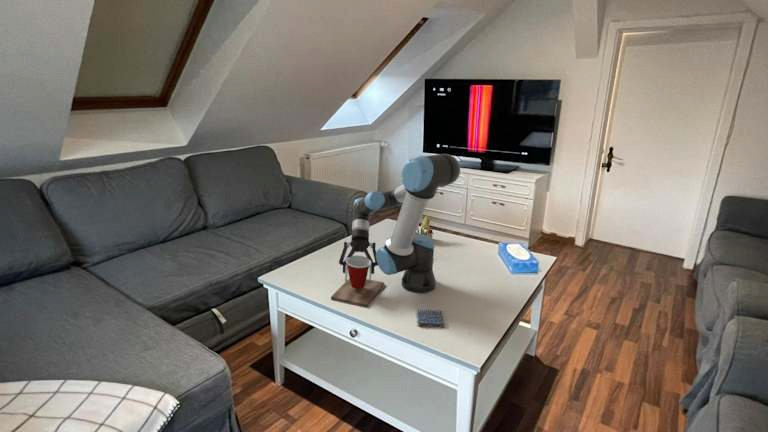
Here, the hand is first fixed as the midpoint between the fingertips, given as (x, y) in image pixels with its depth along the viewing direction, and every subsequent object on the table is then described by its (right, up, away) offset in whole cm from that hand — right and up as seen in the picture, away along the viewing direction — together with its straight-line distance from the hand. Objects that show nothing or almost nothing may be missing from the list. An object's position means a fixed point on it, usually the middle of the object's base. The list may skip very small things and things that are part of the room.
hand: (357, 280), depth 172 cm
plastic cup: (0, -3, +4) cm, 5 cm away
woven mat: (+28, -13, -14) cm, 34 cm away
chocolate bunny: (+35, +12, +60) cm, 70 cm away
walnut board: (0, -6, +5) cm, 8 cm away
